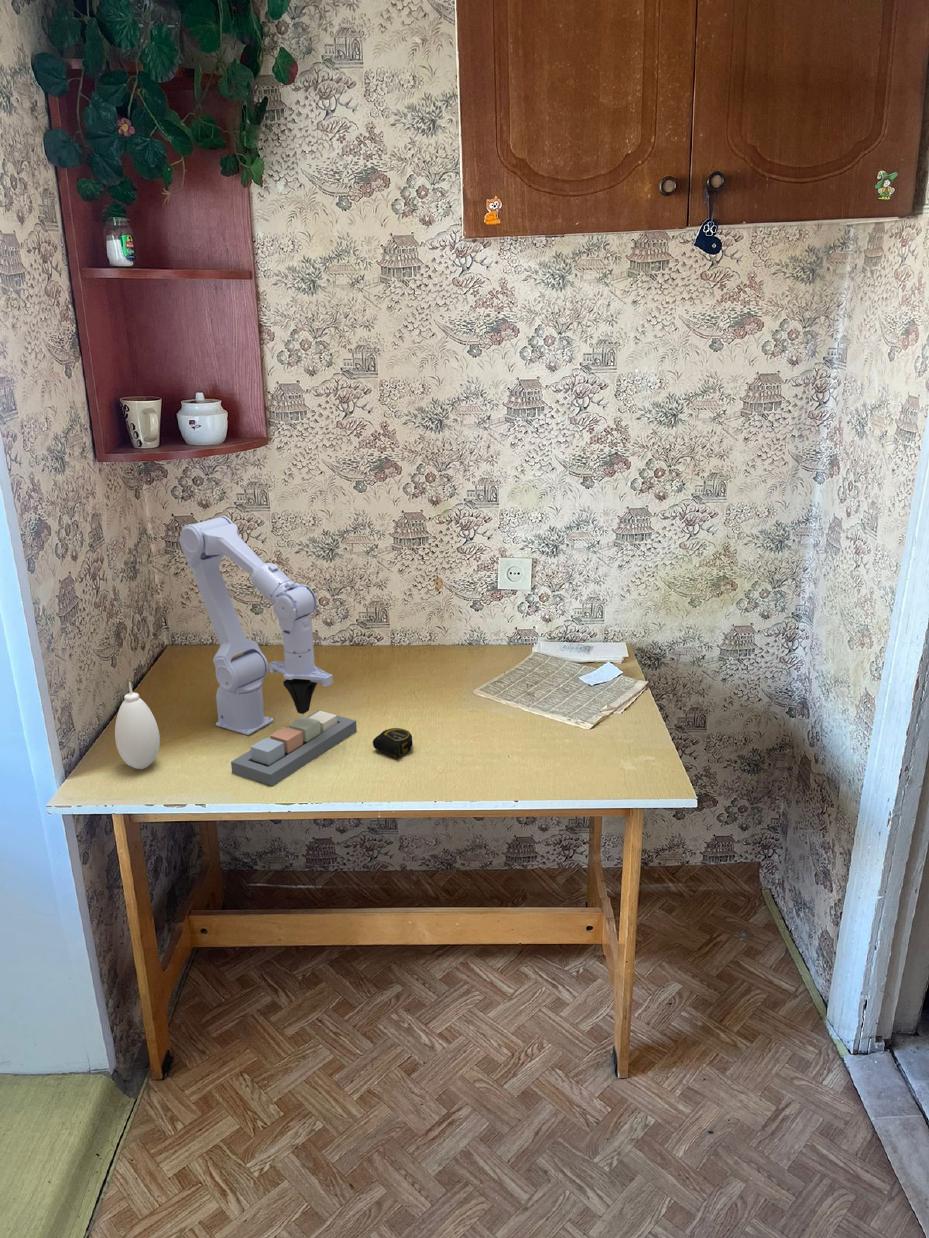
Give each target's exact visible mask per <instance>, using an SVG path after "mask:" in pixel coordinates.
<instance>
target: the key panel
mask: <svg viewBox="0 0 929 1238" xmlns="http://www.w3.org/2000/svg"><path fill="white" fill-rule="evenodd" d="M319 711H321V710H319V709H317V710H316V711H314V712H312V714H311V713H310V714H309V715H308V716H307V717H308V718H309V717H310V716H312V715H314V714H315V713H317V712H319ZM329 713H330V712H329ZM330 714H332V713H330ZM357 730H358V729H357V720H356V719H352V718H348V717H345V716H341V715H337V725H335V726H333V727H332V728H330V729H329V730H327V731H325V732H324V733H322V734H320V735H317V736H316V737H314V738H313V739H311V740H309V741H308V742H304V741H303V745H301V746H300V747H298V748H296V749H295V750H293V751H292V752H290V753H285V756H284V757H282V758H280V759H279V760H277V761H276V762H274V763H272V764H271V765H266V764H263V763H260V762H257V761H254V760H252V756H251V749H250V750H248V751H247V752H244V753H243V754H242V755H240V756H238V757H236V758H234V759H233V760H231V761H230V765H231V766H230V767H231V773H232V774H233V775H236V776H240V777H241V778H245V779H248V780H252V781H255V782H257V783H259V784H262V785H263V784H264V785H266V786H268V787H271V788H272V787H274V786H275V785H277V784H278V783H280V782H281V781H283V780H285V779H286V778H287V777H289V776H291V775H292V774H295V772H296V771H298V770H300V769H302V768H303V767H304V766H306V765H307V764H309V763H311V762H312V761H314V760H315V759H316V758H318V757H320V756H321V755H323V754H325V753H326V752H328V751H329V750H330V749H332V748H333V747H335V746H337V745H338V744H340V743H342V742H343V741H344V740H346V739H347V738H349V737H350V736H352V735H353V734H355V733H356V732H358V731H357Z"/></svg>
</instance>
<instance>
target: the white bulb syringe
mask: <svg viewBox="0 0 929 1238" xmlns="http://www.w3.org/2000/svg"><path fill="white" fill-rule="evenodd" d="M128 687H129V689H128V690H129V693H126V694H125V695H124V696H123V697H124V700H123V701H122V702H121V705H120V706H119V709H118V711H117V712H118V713H117V716H116V719H115V726H114V739H115V745H116V748H117V751H118V754H119V755H120V757H121V758H122V760H123V762H125V764H126V765H128V766H129V767H132V768H133V769H136V770H143V769H146V768H148V767H149V766H150V765H151V764H152V763H153V762H155V760H156V759H157V757H158V754H159V750H160V743H161V742H160V741H161V738H160V731H159V727H158V724H157V721H156V718H155V716H154V714H153V713H152V710H151V709H150V707H149V706H148V704H147V703H146V702H145V701H144V700H143V699H142V698H141V697H140V694H139V693H137V692H134V691H133V689H132V683H131V681H129V682H128Z"/></svg>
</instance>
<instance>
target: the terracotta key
mask: <svg viewBox="0 0 929 1238" xmlns="http://www.w3.org/2000/svg"><path fill="white" fill-rule="evenodd" d="M269 738H270V739H273V740H277V741H280V742H283V743H284V752H285V753H290V752H292V751H293V750H295V749H296V748H298V747H300V746H301V745H303V736H302V731H299V730H295V729H292V728H289V726H284V727H282V728H280V729H278V730H277V731H275V732H273V733H272V734H269Z"/></svg>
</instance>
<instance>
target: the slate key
mask: <svg viewBox="0 0 929 1238" xmlns="http://www.w3.org/2000/svg"><path fill="white" fill-rule="evenodd" d="M250 750H251V756H252V760H254V761H257V762H260V763H263V764H266V765H271V764H272V763H274V762H276V761H277V760H279V759H280V758H282V757H284V756H285V752H284V743H283V742H280V741H277V740H273V739H270V737H265V738H263V739H261V740H259V741H258V742H256V743H255V744H252V745H251V746H250Z"/></svg>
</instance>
